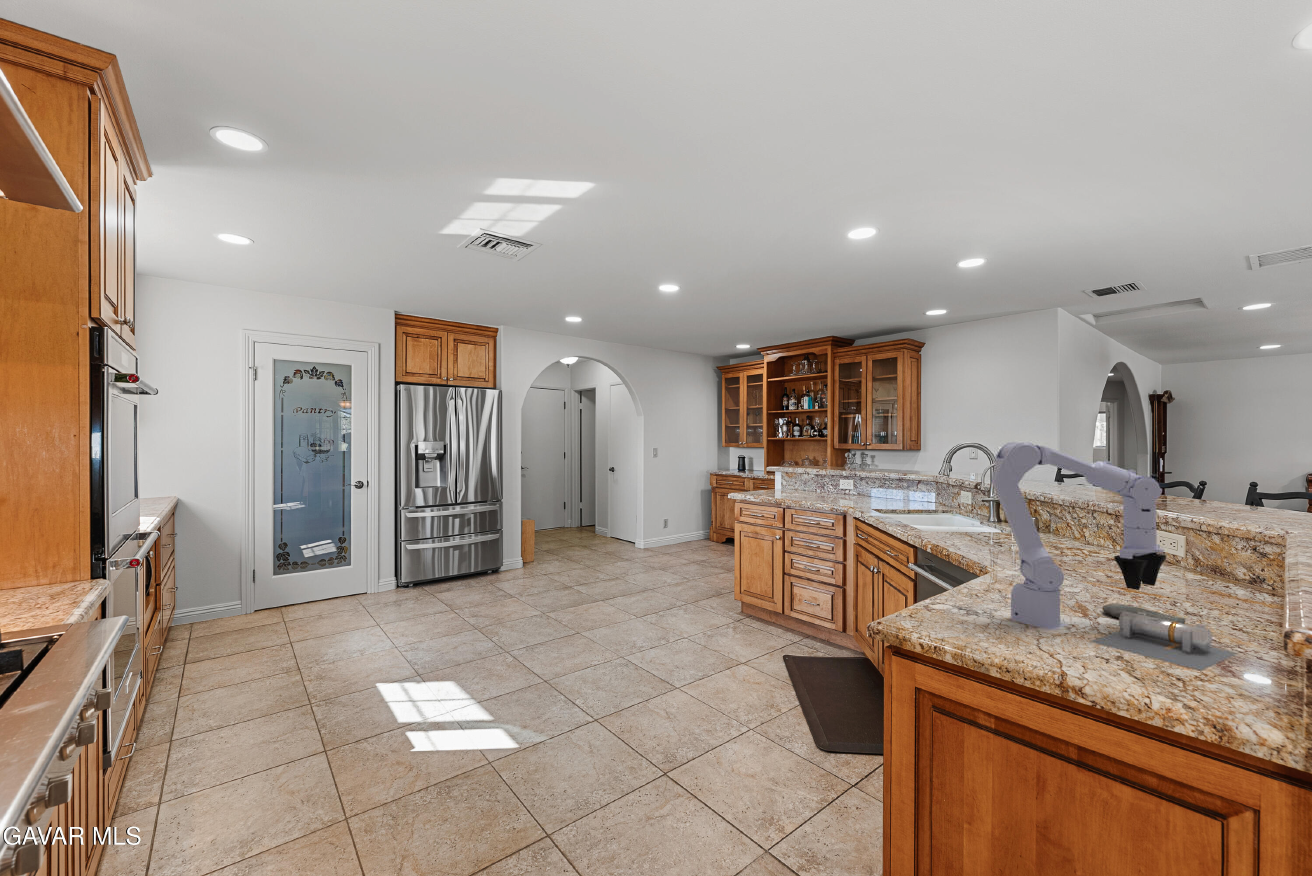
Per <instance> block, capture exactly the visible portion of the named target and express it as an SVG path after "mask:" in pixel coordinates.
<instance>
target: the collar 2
mask: <svg viewBox="0 0 1312 876" xmlns="http://www.w3.org/2000/svg"><path fill="white" fill-rule="evenodd" d="M1195 626H1196V627H1201V628H1205V629H1207V625H1204V624H1201V623H1198V624H1196V625H1195ZM1182 645H1183V652H1184V653H1188V654H1192V653H1194V652H1197V651H1199V650H1200V649H1196V648H1193V634H1192V631H1191V630H1186V629H1184V630H1182Z"/></svg>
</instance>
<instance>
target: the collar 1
mask: <svg viewBox="0 0 1312 876" xmlns="http://www.w3.org/2000/svg"><path fill="white" fill-rule="evenodd" d="M1137 614H1139V615H1144V616H1146V613H1143V612H1137ZM1137 636H1140V635H1137V634H1133V633H1132V618H1131V617H1126V616H1124V617H1123V638H1127V639H1132V638H1135V637H1137Z"/></svg>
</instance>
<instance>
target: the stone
mask: <svg viewBox="0 0 1312 876" xmlns="http://www.w3.org/2000/svg"><path fill="white" fill-rule="evenodd" d="M1102 611H1103V612H1104V613H1106V614H1109V615H1110V616H1112V617H1115V618H1117V619H1119V617H1120V615H1121V613H1122V612H1123V611H1125V612H1130V613H1135V614H1137V612H1143V613H1146V616H1149V617H1154V618H1158V619H1163V620H1168V621H1172V622H1177V623H1182V624H1186V623H1185V622H1186V618H1185V617H1180V616H1177V615H1176V616H1175V615H1170V614H1165V613H1162V612H1158V611H1153V610H1149V609H1146V608H1142V607H1137V606H1132V605H1129V604H1123V603H1109V604H1106V605H1103V606H1102Z"/></svg>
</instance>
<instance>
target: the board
mask: <svg viewBox="0 0 1312 876" xmlns="http://www.w3.org/2000/svg"><path fill="white" fill-rule="evenodd" d="M1089 642H1091V643H1093V644H1098V645H1101V646H1105V647H1108V648H1109V647H1110V648H1114V649H1115V650H1116V649H1117V650H1120V651H1125V652H1128V653H1132V654H1136V655H1139V656H1143V657H1147V658H1151V659H1154V660H1159V661H1162V662H1166V663H1169V664H1173V665H1177V666H1181V667H1183V668H1184V667H1185V668H1189V669H1193V670H1196V671H1200V672H1202V671H1204V670H1207V669H1208V668H1211V667H1212V666H1214V665H1216V664H1219V663H1221V662H1224V661H1225V660H1227V659H1229V658H1231V657H1233V656H1235V655H1237V654H1238V652H1235V651H1232V650H1231V651H1230V650H1226V649H1222V648H1218V647H1212V646H1211V648H1210V650H1209V651H1204V650H1199V651H1197V652H1194V653H1192V654H1188V653H1184V652H1183V645H1179V644H1174V643H1170V642H1166V641H1162V640H1158V639H1154V638H1149V637H1145V636H1141V635H1140V636H1137V637H1135V638H1132V639H1127V638H1123V631H1121V630H1120V631H1119V630H1117V631H1116V632H1113V633H1111V634H1110V633H1109V634H1108V635H1104V636H1101V637H1098V638H1095V639H1093V640H1089Z"/></svg>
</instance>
